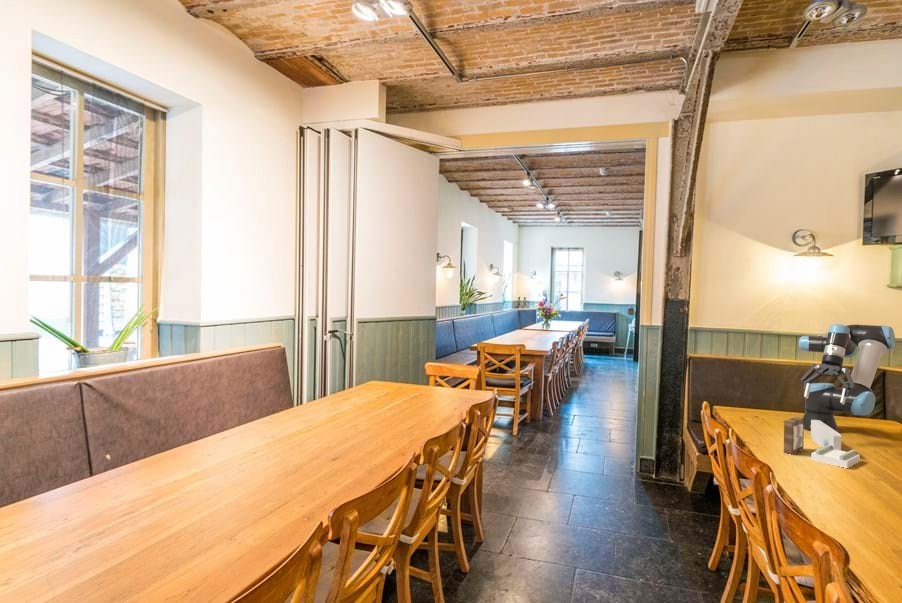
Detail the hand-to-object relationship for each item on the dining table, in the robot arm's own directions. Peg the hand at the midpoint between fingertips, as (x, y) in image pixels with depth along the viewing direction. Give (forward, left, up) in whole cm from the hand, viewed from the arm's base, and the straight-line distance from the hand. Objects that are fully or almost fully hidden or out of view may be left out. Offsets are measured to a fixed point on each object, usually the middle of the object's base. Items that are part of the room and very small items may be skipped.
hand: (823, 400), depth 220 cm
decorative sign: (-2, 0, -21) cm, 21 cm away
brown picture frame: (+18, -5, -21) cm, 28 cm away
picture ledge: (+18, +10, -21) cm, 30 cm away
